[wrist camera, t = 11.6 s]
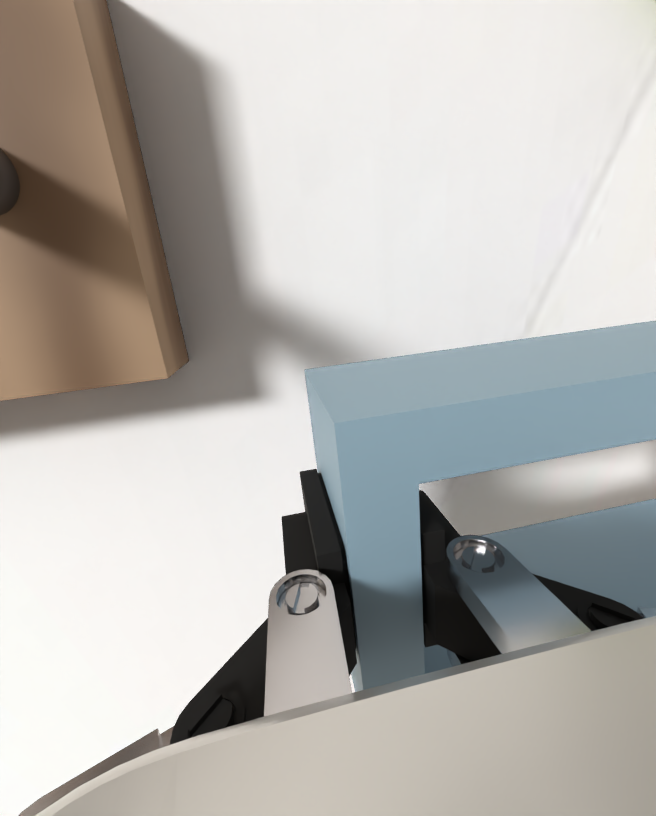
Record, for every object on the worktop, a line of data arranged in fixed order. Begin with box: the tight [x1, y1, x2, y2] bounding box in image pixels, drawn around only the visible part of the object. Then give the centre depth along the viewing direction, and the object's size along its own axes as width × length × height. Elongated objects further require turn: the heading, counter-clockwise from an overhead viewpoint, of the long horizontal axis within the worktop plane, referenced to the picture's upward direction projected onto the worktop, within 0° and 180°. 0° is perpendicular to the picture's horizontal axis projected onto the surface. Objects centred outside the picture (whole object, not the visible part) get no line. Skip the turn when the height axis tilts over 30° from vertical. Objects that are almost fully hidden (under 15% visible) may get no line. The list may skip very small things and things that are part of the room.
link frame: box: [305, 321, 656, 692], centre depth 11 cm, size 18×9×5 cm, turn 96°
